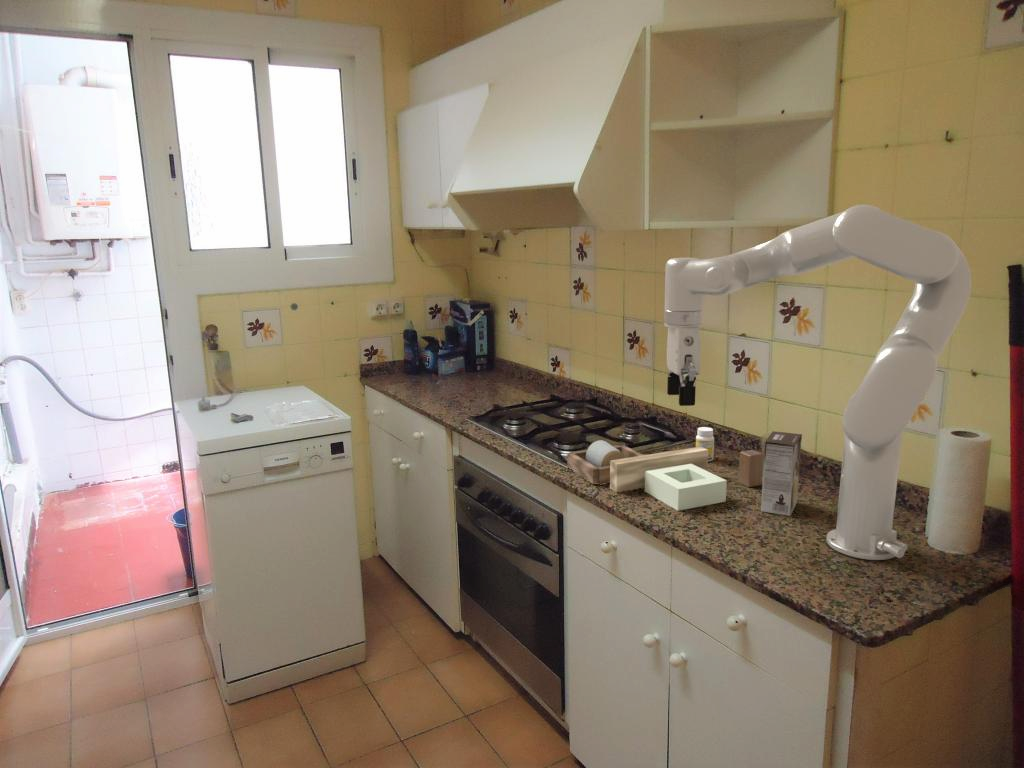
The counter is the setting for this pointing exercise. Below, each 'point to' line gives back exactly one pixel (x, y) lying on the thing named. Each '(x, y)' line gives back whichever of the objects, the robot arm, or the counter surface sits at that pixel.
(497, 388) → the counter surface
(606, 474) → the brown wooden tray
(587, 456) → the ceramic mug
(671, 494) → the socket block
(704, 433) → the supplement bottle
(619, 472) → the birch wall
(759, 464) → the wooden block
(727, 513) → the counter surface
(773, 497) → the coffee box
